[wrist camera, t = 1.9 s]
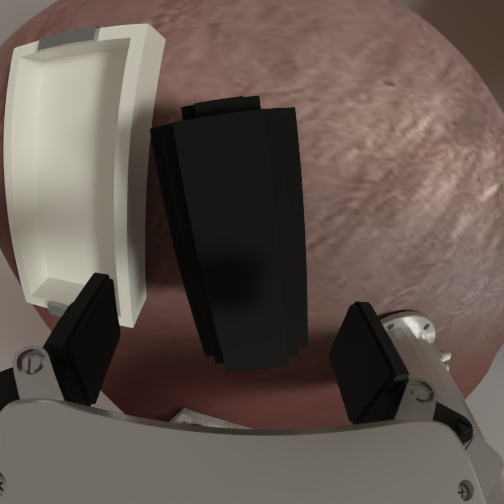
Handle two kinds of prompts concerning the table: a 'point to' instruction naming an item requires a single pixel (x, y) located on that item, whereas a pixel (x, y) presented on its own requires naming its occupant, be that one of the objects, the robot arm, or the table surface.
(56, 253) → the cradle
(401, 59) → the table surface
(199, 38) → the table surface
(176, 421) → the packaged product
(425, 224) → the table surface
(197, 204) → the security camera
